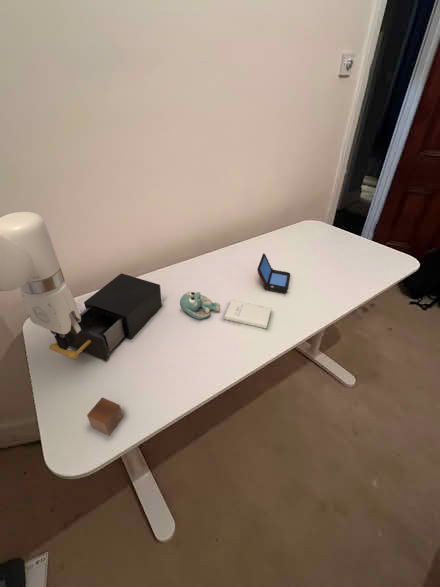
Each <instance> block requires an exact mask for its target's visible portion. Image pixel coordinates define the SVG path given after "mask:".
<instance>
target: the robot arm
mask: <svg viewBox="0 0 440 587" xmlns="http://www.w3.org/2000/svg"><path fill="white" fill-rule="evenodd" d="M48 229H49V228H48V226H47V224H46V220H44V218H43V217H42V216H41V215H40V214H38V213H36V212H33V211H17V212H12V213H8V214H5V215H2V216H1V217H0V292H10V291H14V290H17V289H19V292H20V296H21V299H22V303H23V305H24V308H25V311H26V314H27V316H28V318H29V319H30V320H29V321H31V323H33V324H34V325H36V326H38V327H41V328H43V329H46V330H49V332H50V333H51V335H54V339H55V341H56V342H57V343H58V346H59V348H61V349H62V348H63V349H64V350H67V349H68V350H69V348H71V347H70V346H71V345H72V344H73V343H74V342H75V338H74V335H73V334H78V333H79V332H80V331H81V328H80V326H79V325H78V323H77V322H81V316H80V313H81V312H80V310H79V307H78V304H77V302H76V300H75V298H74V296H73V293H72V291H71V289H70V288H69V287H68V284H67V283H66V279H65V276H64V273H63V270H62V268H61V264H60V261H59V258H58V256H57V255H58V254H57V252H56V250H55V247H54V244H53V241H52V238H51V236H50V232H49V230H48Z"/></svg>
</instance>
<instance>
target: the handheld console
mask: <svg viewBox="0 0 440 587" xmlns="http://www.w3.org/2000/svg"><path fill="white" fill-rule="evenodd" d="M261 255H262V256H261V258H260V261H259V264H258V265H257V273H258V276H259V277H260V279H261V281H262V283H263V286H264V288H263V289H264V291H270V292H275V293H280V294H286V293H288V290H289V284H290V279H291V273H290V272H289V271H283V270H276V269H274V268H273V267H272V266H271V264H270V262H269V259H268V257H267V255H266V253H264V252H263V253H262V254H261Z"/></svg>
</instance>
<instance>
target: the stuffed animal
mask: <svg viewBox="0 0 440 587" xmlns="http://www.w3.org/2000/svg"><path fill="white" fill-rule="evenodd" d="M179 306H180V309H181V310H182V311H183V312H185V313H186V314H188V315H189V316H190V317H192V318H194V319H198V320H203V319H206V318H209V317H210V316H211V313H210V311H211V310H213V311H214V312H219V311H220V310H221V308H220V306H221V305H220V302H213V301H211V299H210V298H209V297H207V296H206V295H203V294H201V292H200V291H197V292H195V291H186V292H185V293H184V294H183V295H182V296H181V297H180V299H179ZM199 308H201V309H203V311H199Z"/></svg>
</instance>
